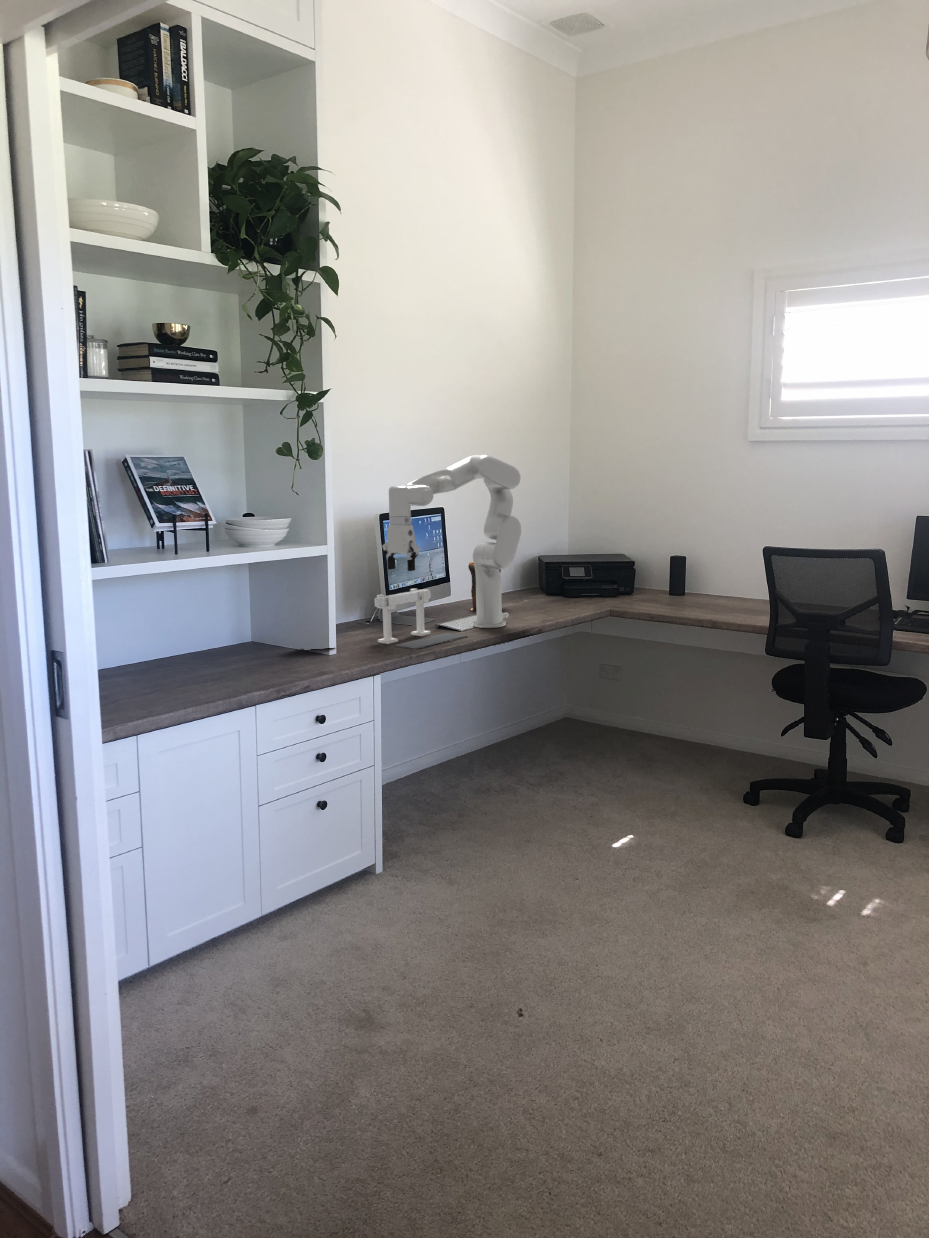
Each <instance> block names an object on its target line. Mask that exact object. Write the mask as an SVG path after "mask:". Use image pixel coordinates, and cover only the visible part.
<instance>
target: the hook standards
mask: <svg viewBox="0 0 929 1238" xmlns="http://www.w3.org/2000/svg"><path fill="white" fill-rule="evenodd" d="M416 590H418V588H410V589H409V592H411V591H416ZM421 590H422V589H421ZM429 590H430V589H426V590H422V600H418V601H413V602H412V603H415V613H416V614H415V616H416V617H415V619H416V620H415V621H416V630H413V631H411V632H410V634H411V636H420V637H423V636H427V635H431V634H432V633H431V630H425V606H424V605H425V604H426V603H429V602H430V598H429ZM383 596H385V595H384V594H377V595H376V598H378V597H383ZM387 596H388V603H389V606H387V607H376V608H377V609H382V626H383V629H382V631H383V637H382V638H379V639H377V643H380V644H387V645H389V644H393V643H397V642H399V638H395V637H393V635H392V631H393V630H392V610H396V609H397V605H396V596H389V595H387Z"/></svg>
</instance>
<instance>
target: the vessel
mask: <svg viewBox="0 0 929 1238" xmlns="http://www.w3.org/2000/svg"><path fill="white" fill-rule="evenodd" d="M467 567H468V570H469V572H470V575H471V590H470V594H471V599H472V600H471V601H472V603H471V604H472V608H470V610H471V611H472V612H475V613H477V608H476V573H475V567H474V562H473V561H470V562H469V563H468V566H467ZM501 571H502V570H501V569H499V572H500V573H501Z"/></svg>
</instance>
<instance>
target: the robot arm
mask: <svg viewBox="0 0 929 1238" xmlns="http://www.w3.org/2000/svg"><path fill="white" fill-rule="evenodd" d="M477 479H483V483H484V484H485V486H486V488H487V489H488V492H489V495H490V503H489V508H488V512H487V515H486V518H485V522H484V526H483V533H484V535H485V537H487V538H488V539H491V540H493V541H494V540H495V542H488V541H483V542H481V543H478V544H477V545H476V546H475V547H474V549H473V552H472V562H474V567H475V573H476V608H477V612H476V620H475V621H473V622H472V626H473V627H474V626H475V627H474V628H481V629H494V628H495V629H496V628H503V627H504V626H505V627H506V625H507V622H506V621H505V620H504V619H506V618H509V615H510V614H509V613H508V612H503V611H502V610H503V609H502V607H503V606H502V604H503V603H502V576H501V572H499V569H501V571H502V570H506V569H508V568H510V566H512V563H513V562H514V559H515V556H516V552H517V550H518V547H519V544H520V543H519V542H520V539H521V535H522V526H521V522H520V520H519V519H518V518H517V516H514V515H512V510H513V507H514V497H513V495H512V494H513V493H512V491H511V490H513V489H516V488H517V487H518V486H519V484H520V482H521V474H520V471H519V470H518V468H517V467H515V466H513V465H512V464H509V463H507V462H505V461H503V460H500V459H498V458H496V457H494V456H491V455H487V454H473V455H470V456H466V457H464V458H462V459H461V460H459V461H457V462H455V463H452V464H450V465H449V466H447V467H445V468H442V469H440V470H437V471H434V472H431V473H430V474H429V473H428V474H426V475H423V476H420V477H419V478H417V479H415V480H413V481H410V482H409V483H407V484H404V485H393V486H390V487H389V488H388V515H389V516H388V517H389V522H388V523H389V524H388V528H387V535H386V537H387V540H386V542H385V543H383V544H382V549H383V552H384V555H385V557H386V559H387V570H395V569H396V557H395V555H396V554H397V555H398V554H399V555H406V557H407V561H406V563H407V571H408V572H414V571H416V559H417V557H418V556H419V553H420V549H421V547H420V546H419V545H417V544H416V535H415V530H414V526H413V524H412V522H413V519H412V514H411V513H412V512H411V507H413V506H414V507H426V506H428V505H429V504H431V503H432V502H433V499H434V495H438V494H442V493H443V494H445V493H450V492H452V491H456V490H458V489H460V488H461V487H464V486H465V485H468V484H469V483H471V482H473V481H475V480H477Z"/></svg>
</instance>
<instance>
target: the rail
mask: <svg viewBox="0 0 929 1238" xmlns="http://www.w3.org/2000/svg"><path fill="white" fill-rule="evenodd" d="M422 590H427V589H425V588H423V589H417V590H416V591H411V592H410V591H405V592H399V593H396V594H395V593H394V594H389V595H384V596H383V597H378V598H377V597H374V607H376V608H377V607H387V606H389V603H388V596H396V606H397V605H402V604H406V603H411V602H412V603H414V602H413V601H418V600H422ZM428 590H429V599H431V589H428Z"/></svg>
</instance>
